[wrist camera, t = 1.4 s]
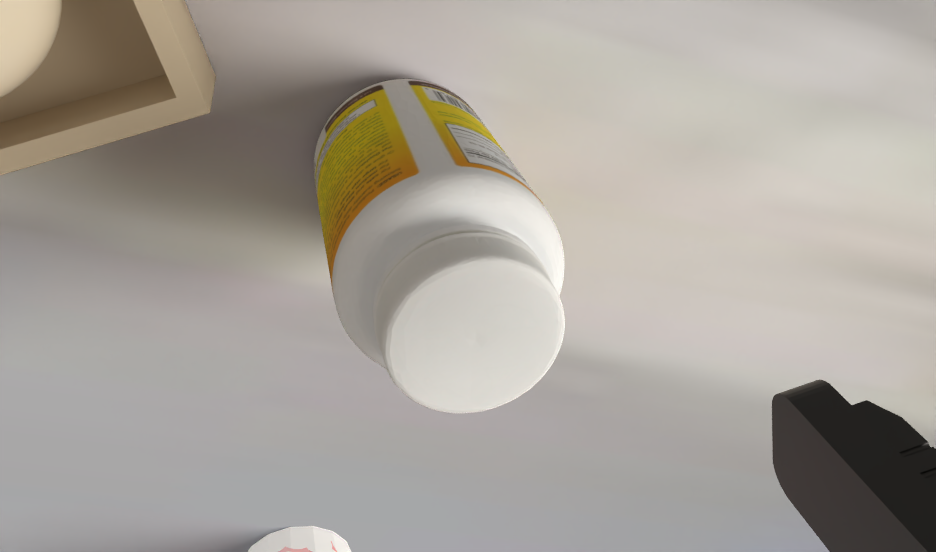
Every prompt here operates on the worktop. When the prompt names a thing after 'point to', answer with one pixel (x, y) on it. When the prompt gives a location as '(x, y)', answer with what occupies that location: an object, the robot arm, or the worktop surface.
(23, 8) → the egg
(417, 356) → the supplement bottle
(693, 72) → the worktop surface
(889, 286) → the worktop surface
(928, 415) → the worktop surface
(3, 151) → the divided tray
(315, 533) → the beverage cup
